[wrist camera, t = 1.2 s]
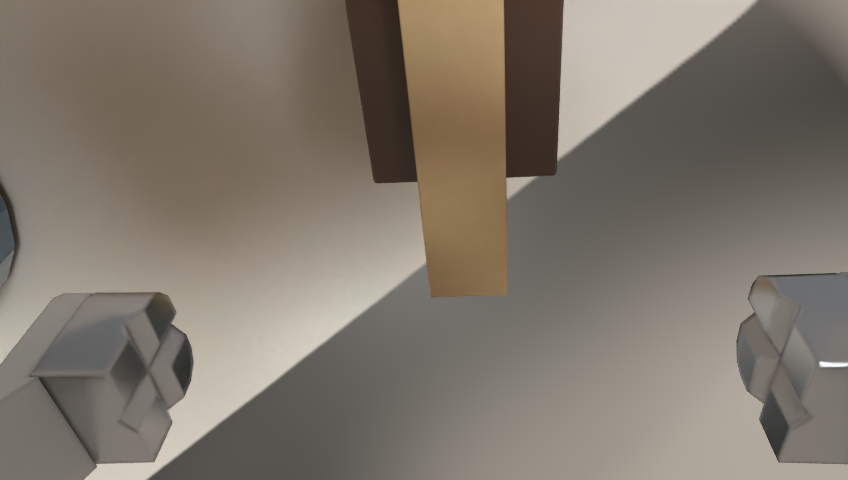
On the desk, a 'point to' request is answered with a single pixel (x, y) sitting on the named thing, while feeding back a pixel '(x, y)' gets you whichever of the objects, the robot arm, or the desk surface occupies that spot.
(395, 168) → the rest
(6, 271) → the bowl
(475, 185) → the tan wooden bar
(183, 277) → the desk surface
